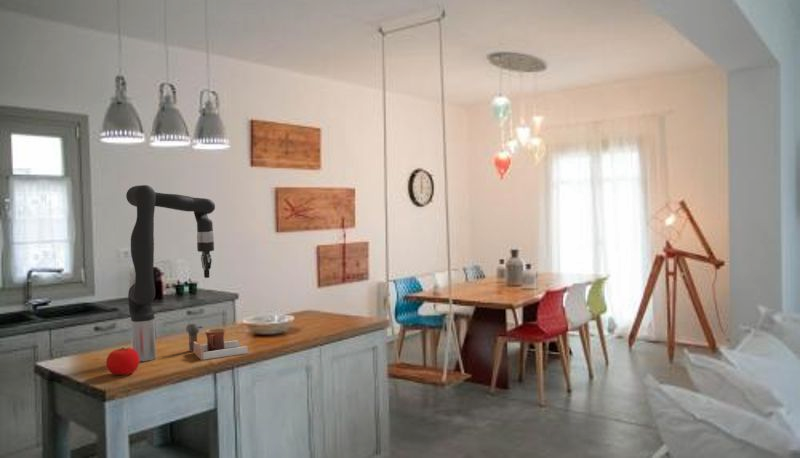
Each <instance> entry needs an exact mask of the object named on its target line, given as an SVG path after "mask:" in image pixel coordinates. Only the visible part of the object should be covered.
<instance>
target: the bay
mask: <svg viewBox="0 0 800 458" xmlns="http://www.w3.org/2000/svg"><path fill="white" fill-rule="evenodd" d="M193 343H194V352H193V353H194V355H196V357H198V359H200V361H203V360H209V359H218V358H224V357H231V356H237V355H238V356H239V355H244V354H248V353H249V352H248V346H247V345H246V346H240V342H239V340H235V339H234V340H229V341H224V346H225V348H224V349H223V350H216V351H209V352H208V351H207V343H206V344H199V343H198V341H197V342H196V341H195V342H193Z"/></svg>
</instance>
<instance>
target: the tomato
mask: <svg viewBox="0 0 800 458" xmlns="http://www.w3.org/2000/svg"><path fill="white" fill-rule="evenodd" d="M140 362H141V361H140V359H139V355H138V353H137V351H136V350H134V349H132V348H131V347H127V348H125V347H121V348H118V349H114V350H113V351H111V352H110V353H109V354H108V355H107V358H106V361H105V364H106V368H107V370H108V371H109V372H110V373H111V374H113V375H117V376H126V375H125V374H127V375H130V373H131V374H132V373H135V372H136V370H137V369H138V368H139V365H140Z"/></svg>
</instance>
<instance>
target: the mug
mask: <svg viewBox="0 0 800 458" xmlns="http://www.w3.org/2000/svg"><path fill="white" fill-rule="evenodd" d="M204 333H205V336H206V344H207V351H206V352H209V351H216V350H223V349H224V348H225V346H224V342H225V333H226V329H224V328H211V329H207V330H205V331H204Z"/></svg>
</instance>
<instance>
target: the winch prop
mask: <svg viewBox="0 0 800 458" xmlns="http://www.w3.org/2000/svg"><path fill="white" fill-rule="evenodd" d="M202 328H203V326H202V325H200V326H198V325H197V324H196V322H195V323H194V322H191V323H188V324H187V326H186V327H185V331H186V332H187V333H188V345H189V346H188V349H189V352H190V353H194V343H193V342H195V341H196V342H197V343H198V333H199V332H200V329H202Z"/></svg>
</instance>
